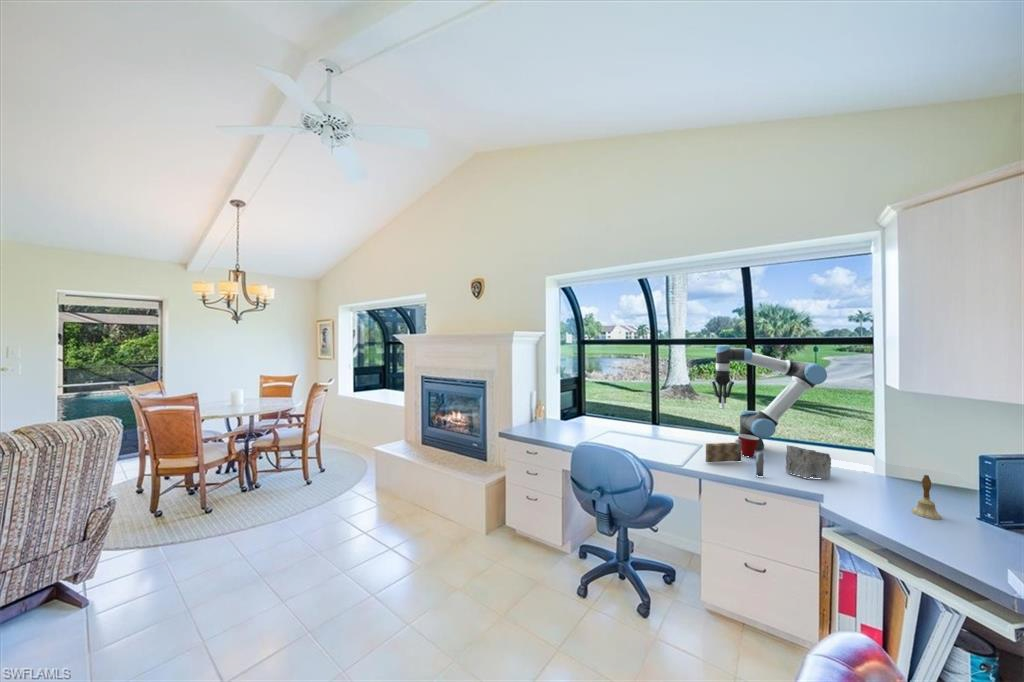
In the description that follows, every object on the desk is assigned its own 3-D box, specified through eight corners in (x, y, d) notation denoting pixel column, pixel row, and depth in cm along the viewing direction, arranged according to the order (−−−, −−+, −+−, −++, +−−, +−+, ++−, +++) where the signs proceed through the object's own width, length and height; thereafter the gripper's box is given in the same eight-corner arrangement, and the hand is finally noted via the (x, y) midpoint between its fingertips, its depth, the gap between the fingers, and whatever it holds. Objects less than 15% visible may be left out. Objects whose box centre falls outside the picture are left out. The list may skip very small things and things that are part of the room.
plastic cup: (763, 459, 222) (763, 438, 222) (744, 458, 222) (744, 438, 222) (752, 453, 233) (752, 433, 233) (734, 453, 233) (734, 433, 233)
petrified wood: (828, 473, 200) (829, 444, 200) (833, 484, 185) (834, 453, 185) (784, 466, 210) (785, 439, 210) (785, 476, 196) (786, 447, 195)
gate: (737, 460, 218) (737, 442, 217) (738, 460, 216) (739, 442, 216) (705, 461, 215) (705, 443, 215) (707, 462, 213) (707, 444, 213)
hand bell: (933, 520, 149) (934, 480, 149) (906, 511, 157) (907, 472, 157) (946, 518, 152) (948, 478, 151) (919, 508, 160) (920, 470, 159)
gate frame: (707, 458, 222) (708, 438, 222) (739, 460, 220) (740, 439, 220) (728, 476, 195) (728, 452, 195) (764, 477, 193) (764, 454, 193)
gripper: (713, 370, 233) (713, 409, 234) (736, 371, 232) (736, 409, 232) (709, 369, 241) (708, 406, 241) (731, 369, 239) (730, 407, 239)
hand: (722, 408), depth 237 cm, fingers closed
